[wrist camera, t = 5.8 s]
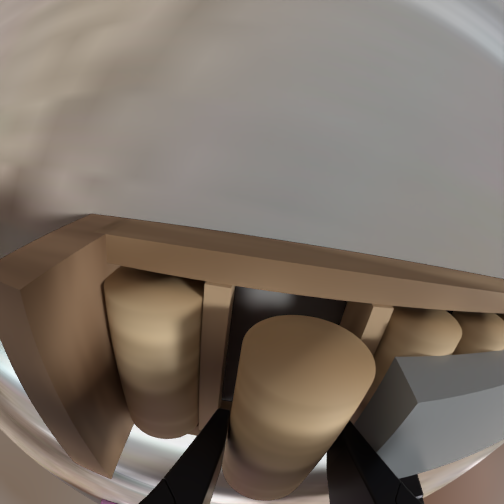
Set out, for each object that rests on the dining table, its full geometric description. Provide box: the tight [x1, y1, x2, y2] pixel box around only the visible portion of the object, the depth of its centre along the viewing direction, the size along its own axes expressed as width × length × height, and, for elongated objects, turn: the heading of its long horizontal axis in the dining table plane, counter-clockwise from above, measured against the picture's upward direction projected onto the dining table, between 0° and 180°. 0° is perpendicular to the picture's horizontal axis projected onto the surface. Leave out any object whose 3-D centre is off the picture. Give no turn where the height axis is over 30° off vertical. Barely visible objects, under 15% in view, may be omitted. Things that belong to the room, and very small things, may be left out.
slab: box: [354, 350, 504, 478], centre depth 7 cm, size 6×12×2 cm, turn 82°
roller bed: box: [95, 218, 504, 439], centre depth 10 cm, size 10×22×4 cm, turn 82°
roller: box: [222, 315, 376, 500], centre depth 8 cm, size 7×4×4 cm, turn 172°
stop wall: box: [0, 214, 134, 479], centre depth 9 cm, size 10×2×6 cm, turn 172°
